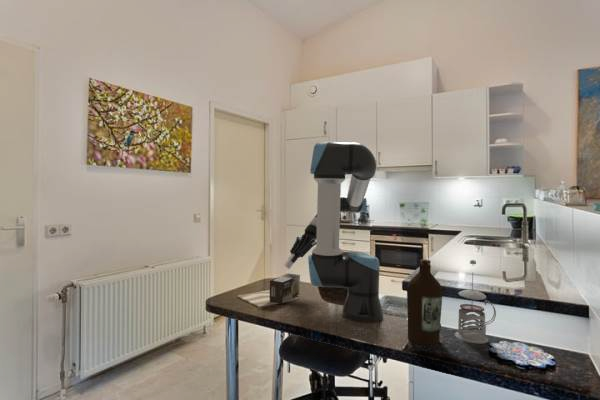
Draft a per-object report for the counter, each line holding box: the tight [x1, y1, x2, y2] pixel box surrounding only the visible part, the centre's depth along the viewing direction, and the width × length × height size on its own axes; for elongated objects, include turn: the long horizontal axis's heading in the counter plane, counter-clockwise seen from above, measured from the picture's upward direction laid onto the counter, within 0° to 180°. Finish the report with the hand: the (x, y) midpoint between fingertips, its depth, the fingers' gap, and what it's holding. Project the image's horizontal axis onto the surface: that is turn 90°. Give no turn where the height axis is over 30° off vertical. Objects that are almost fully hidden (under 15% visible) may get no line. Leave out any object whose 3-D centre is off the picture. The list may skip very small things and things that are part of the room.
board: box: [236, 289, 300, 308], centre depth 149 cm, size 18×20×1 cm
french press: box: [454, 259, 497, 344], centre depth 111 cm, size 10×12×25 cm
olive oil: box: [406, 259, 443, 346], centre depth 109 cm, size 11×11×25 cm
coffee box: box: [269, 273, 301, 304], centre depth 148 cm, size 9×6×16 cm
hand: (286, 266), depth 156 cm, fingers closed
